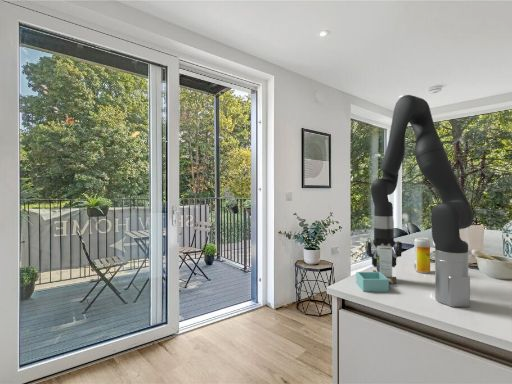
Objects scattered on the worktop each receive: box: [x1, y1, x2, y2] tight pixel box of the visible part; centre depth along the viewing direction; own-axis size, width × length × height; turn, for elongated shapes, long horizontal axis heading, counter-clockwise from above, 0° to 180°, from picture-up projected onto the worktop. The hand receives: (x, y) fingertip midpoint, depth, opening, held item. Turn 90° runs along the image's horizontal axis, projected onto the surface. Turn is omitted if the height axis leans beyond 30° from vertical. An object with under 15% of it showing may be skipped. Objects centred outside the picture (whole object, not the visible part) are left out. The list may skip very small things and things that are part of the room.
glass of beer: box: [413, 236, 431, 275], centre depth 129 cm, size 6×6×15 cm
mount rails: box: [372, 269, 397, 284], centre depth 118 cm, size 12×6×2 cm, turn 177°
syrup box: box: [375, 245, 393, 277], centre depth 120 cm, size 6×6×14 cm
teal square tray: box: [355, 271, 390, 293], centre depth 111 cm, size 9×9×4 cm
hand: (384, 266), depth 120 cm, fingers closed on syrup box, 6 cm apart
